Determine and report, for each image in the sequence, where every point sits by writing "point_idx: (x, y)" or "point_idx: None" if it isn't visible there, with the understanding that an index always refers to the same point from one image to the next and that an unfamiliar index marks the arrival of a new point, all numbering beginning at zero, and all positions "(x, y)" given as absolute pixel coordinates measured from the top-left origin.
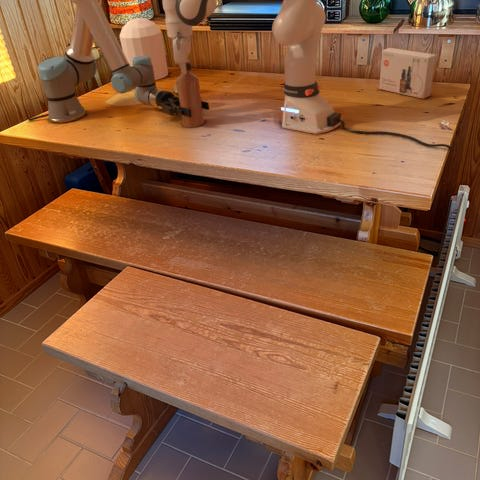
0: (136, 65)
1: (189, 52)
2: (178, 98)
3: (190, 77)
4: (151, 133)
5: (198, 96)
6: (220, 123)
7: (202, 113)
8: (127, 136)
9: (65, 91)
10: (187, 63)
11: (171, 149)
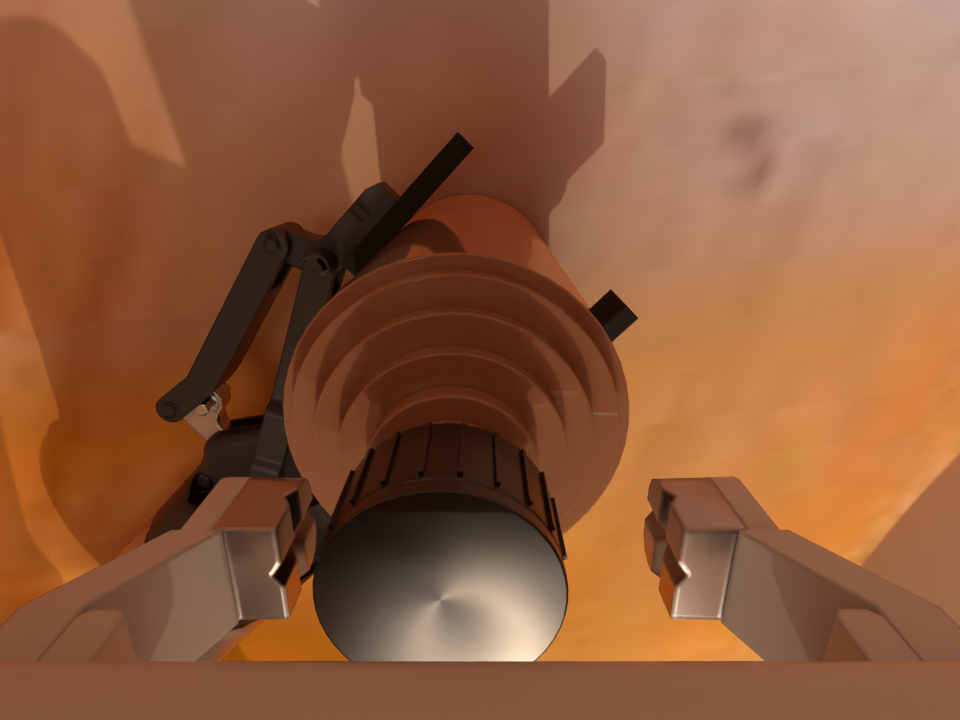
0: None
1: (21, 699)
2: (288, 445)
3: (552, 383)
4: (587, 523)
5: (528, 238)
6: (517, 46)
7: (486, 202)
8: (596, 634)
9: None
10: (434, 548)
11: (896, 374)
